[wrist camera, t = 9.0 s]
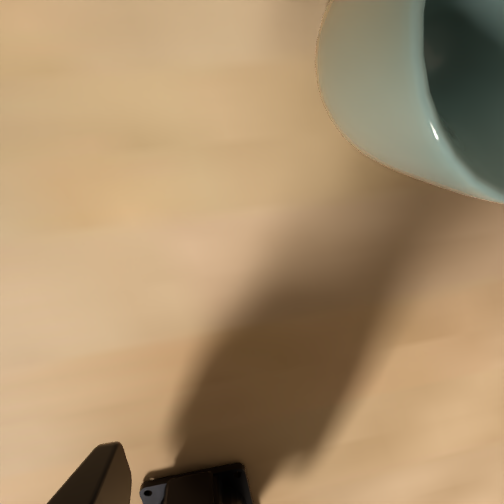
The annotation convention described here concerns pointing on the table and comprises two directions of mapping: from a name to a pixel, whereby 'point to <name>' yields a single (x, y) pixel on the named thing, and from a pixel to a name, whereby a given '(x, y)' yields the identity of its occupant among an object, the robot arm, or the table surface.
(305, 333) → the table surface
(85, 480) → the robot arm
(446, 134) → the cup
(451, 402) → the table surface
